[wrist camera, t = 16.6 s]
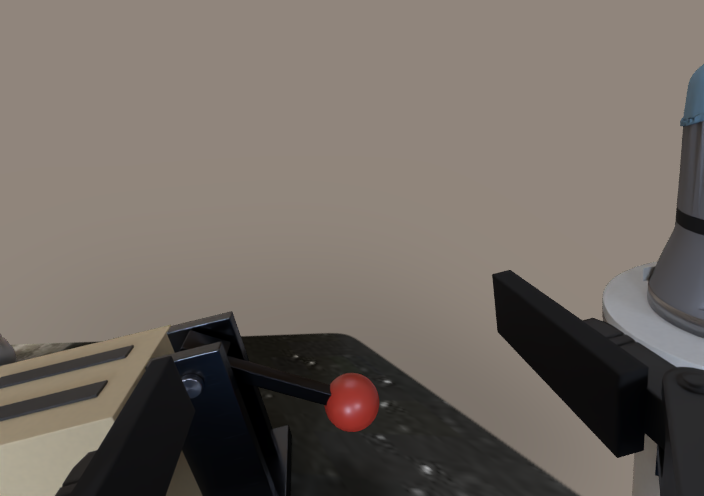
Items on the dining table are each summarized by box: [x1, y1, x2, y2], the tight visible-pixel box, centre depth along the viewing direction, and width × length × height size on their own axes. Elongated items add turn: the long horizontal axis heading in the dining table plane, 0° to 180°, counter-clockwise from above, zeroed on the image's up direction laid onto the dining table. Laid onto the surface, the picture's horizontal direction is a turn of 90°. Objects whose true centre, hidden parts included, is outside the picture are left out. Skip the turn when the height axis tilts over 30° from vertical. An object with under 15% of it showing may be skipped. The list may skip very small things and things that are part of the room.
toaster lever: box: [180, 331, 379, 432], centre depth 27 cm, size 14×4×4 cm
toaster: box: [0, 325, 202, 496], centre depth 27 cm, size 13×10×13 cm
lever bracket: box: [145, 312, 292, 496], centre depth 27 cm, size 6×9×14 cm, turn 8°
